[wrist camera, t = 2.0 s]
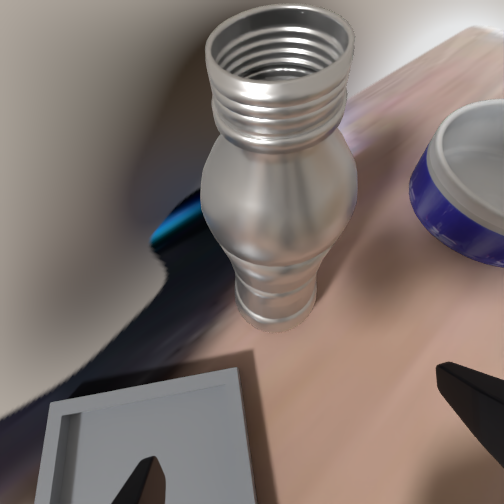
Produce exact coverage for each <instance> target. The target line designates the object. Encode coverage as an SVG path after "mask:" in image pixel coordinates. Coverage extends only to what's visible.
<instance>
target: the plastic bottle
mask: <svg viewBox="0 0 504 504" xmlns="http://www.w3.org/2000/svg"><path fill="white" fill-rule="evenodd" d="M354 41H355V35H354V31H353V28H352V27H351V26H350V24H349V23H348V22H347V21H346V20H345V19H344V18H343V17H342V16H340V15H338V14H336V13H335V12H333V11H330V10H328V9H325V8H322V7H317V6H313V5H307V4H293V3H289V4H286V3H285V4H273V5H267V6H262V7H257V8H254V9H250V10H247V11H244V12H242V13H239V14H237V15H235V16H233V17H231V18H229V19H227V20H226V21H224V22H223V23H222V24H221V25H219V26H218V27H217V28H216V29H215V30H214V31H213V32H212V33H211V34H210V36H209V38H208V40H207V43H206V47H205V52H206V65H207V70H208V75H209V79H210V84H211V88H212V93H213V97H212V110H213V114H214V119H215V124H216V126H217V128H218V130H219V132H220V133H221V134H220V136H219V137H218V139H217V140H216V142H215V144H214V146H213V148H212V150H211V153H210V155H209V157H208V159H207V162H206V164H205V166H204V169H203V174H202V181H201V208H202V211H203V214H204V217H205V220H206V222H207V224H208V226H209V228H210V230H211V232H212V234H213V235H214V237H215V238H216V240H217V241H218V243H219V244H220V245H221V247H222V248H223V250H224V251H225V253H226V254H227V256H228V257H229V259H230V261H231V263H232V266H233V268H234V270H235V274H236V280H235V300H236V304H237V307H238V310H239V312H240V313H241V315H242V317H243V318H244V319H245V320H246V321H247V322H248V323H249V324H251V325H252V326H254V327H255V328H257V329H259V330H261V331H263V332H268V333H282V332H286V331H289V330H291V329H293V328H295V327H297V326H298V325H299V324H301V323H302V322H303V321H304V320H305V319H306V318H307V317H308V316H309V314H310V313H311V311H312V309H313V307H314V304H315V301H316V294H317V282H316V274H317V271H318V268H319V267H320V265H321V263H322V260H323V258H324V257H325V256H326V254H327V253H328V252H329V250H330V249H331V248H332V246H333V245H334V244H335V242H336V241H337V239H338V238H339V237H340V235H341V234H342V232H343V230H344V229H345V227H346V225H347V224H348V222H349V220H350V218H351V217H352V215H353V212H354V209H355V206H356V203H357V192H358V182H357V169H356V163H355V160H354V158H353V156H352V154H351V151H350V149H349V147H348V145H347V143H346V141H345V139H344V137H343V135H342V133H341V132H340V131H339V129H338V128H337V127H338V126H339V124H340V122H341V120H342V117H343V114H344V110H345V106H346V101H347V89H346V85H347V80H348V76H349V72H350V67H351V63H352V59H353V54H354Z"/></svg>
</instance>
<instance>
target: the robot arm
mask: <svg viewBox="0 0 504 504" xmlns="http://www.w3.org/2000/svg"><path fill="white" fill-rule="evenodd" d="M436 377H437V387H438V389H439V391H440V393H441V395H442V396H443V397H444V398H445V400H446V401H447V402H448V403H449V405H450V406H451V407H452V408H453V410H454V411H455V412H456V413H457V415H458V416H459V417H460V418H461V420H462V421H463V422H464V423H465V425H466V426H467V427H468V428H469V430H470V431H471V432H472V433H473V435H474V436H475V437H476V438H477V439H478V441H479V442H480V443H481V444H482V445H483V446H484V447H485V449H486V450H487V451H488V452H489V453H490V454H491V455H492V456H493V457H494V458H495V459H496V460H497V461H498V462H499V464H500V465H501V466H502V467H503V468H504V380H502V379H499V378H496V377H493V376H490V375H487V374H484V373H482V372H479V371H476V370H473V369H470V368H467V367H464V366H461V365H458V364H456V363H453V362H445V363H442V364H439V365H437V366H436ZM165 496H166V478H165V474H164V472H163V470H162V467H161V465H160V463H159V461H158V459H157V457H156V456H150V457H147V458H144V459H142V460H141V461H140V462H139V463H138V465H137V466H136V468H135V469H134V471H133V472H132V473H131V475H130V476H129V478H128V479H127V481H126V482H125V484H124V485H123V487H122V488H121V490H120V491H119V493H118V494H117V496H116V497H115V499H114V500H113V502H112V503H111V504H165Z"/></svg>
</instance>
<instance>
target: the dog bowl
mask: <svg viewBox="0 0 504 504" xmlns="http://www.w3.org/2000/svg"><path fill="white" fill-rule="evenodd" d="M409 195H410V201H411V204H412V207H413V209H414V212H415V214H416V215H417V217H418V219H419V220H420V221H421V223H422V224H423V225H424V226H425V228H426V229H427V230H428V231H429V232H430V233H431V234H432V235H434V236H435V237H436V238H437V239H438V240H440V241H441V242H442V243H444V244H445V245H447V246H448V247H450V248H451V249H453V250H455V251H456V252H458V253H460V254H462V255H464V256H466V257H469V258H471V259H473V260H476V261H479V262H482V263H485V264H489V265H493V266H498V267H504V99H491V100H484V101H479V102H475V103H471V104H468V105H466V106H463V107H461V108H459V109H457V110H455V111H454V112H452V113H451V114H450V115H449V116H447V117H446V118H445V120H444V121H443V122H442V123H441V125H440V126H439V128H438V129H437V131H436V132H435V134H434V136H433V138H432V140H431V141H430V143H429V144H428V146H427V148H426V150H425V151H424V153H423V155H422V157H421V158H420V160H419V162H418V164H417V165H416V167H415V169H414V171H413V173H412V176H411V178H410V183H409Z"/></svg>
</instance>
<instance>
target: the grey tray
mask: <svg viewBox="0 0 504 504" xmlns="http://www.w3.org/2000/svg"><path fill="white" fill-rule="evenodd" d="M150 456H156V457H157V459H158V461H159V463H160V465H161V467H162V470H163V472H164V474H165V478H166V496H165V504H257V496H256V489H255V482H254V475H253V467H252V460H251V453H250V445H249V438H248V431H247V423H246V416H245V409H244V401H243V394H242V387H241V379H240V372H239V368H237V367H234V368H229V369H224V370H218V371H213V372H208V373H203V374H198V375H192V376H187V377H182V378H177V379H172V380H166V381H161V382H156V383H151V384H145V385H140V386H135V387H130V388H125V389H119V390H114V391H109V392H104V393H99V394H93V395H88V396H83V397H78V398H73V399H67V400H62V401H57V402H52V403H50V408H49V415H48V421H47V427H46V433H45V440H44V446H43V452H42V459H41V465H40V471H39V477H38V484H37V490H36V496H35V503H34V504H111V503H112V502H113V500H114V499H115V497H116V496H117V494H118V493H119V491H120V490H121V488H122V487H123V485H124V484H125V482H126V481H127V479H128V478H129V476H130V475H131V473H132V472H133V471H134V469H135V468H136V466H137V465H138V463H139V462H140V461H141V460H142V459H144V458H147V457H150Z"/></svg>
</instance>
